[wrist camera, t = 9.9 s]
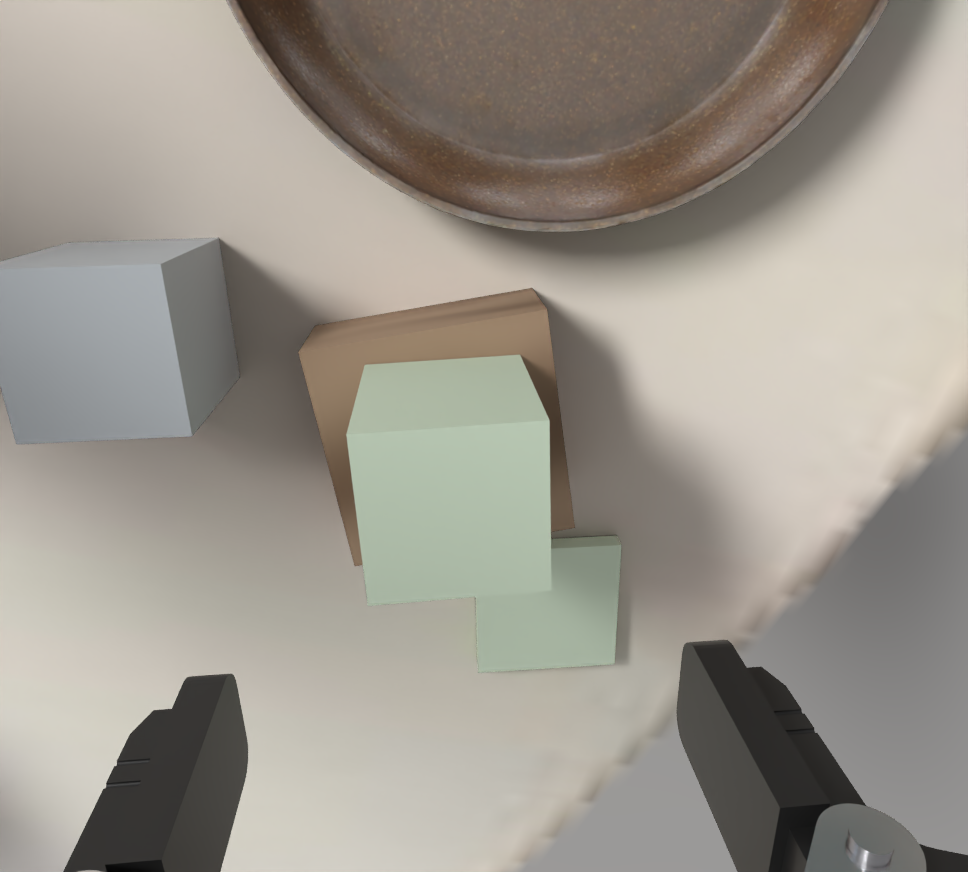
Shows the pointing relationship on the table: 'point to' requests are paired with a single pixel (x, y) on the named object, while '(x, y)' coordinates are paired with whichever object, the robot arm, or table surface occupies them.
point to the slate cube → (115, 340)
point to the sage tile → (556, 613)
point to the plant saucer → (556, 94)
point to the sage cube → (451, 480)
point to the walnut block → (423, 337)
